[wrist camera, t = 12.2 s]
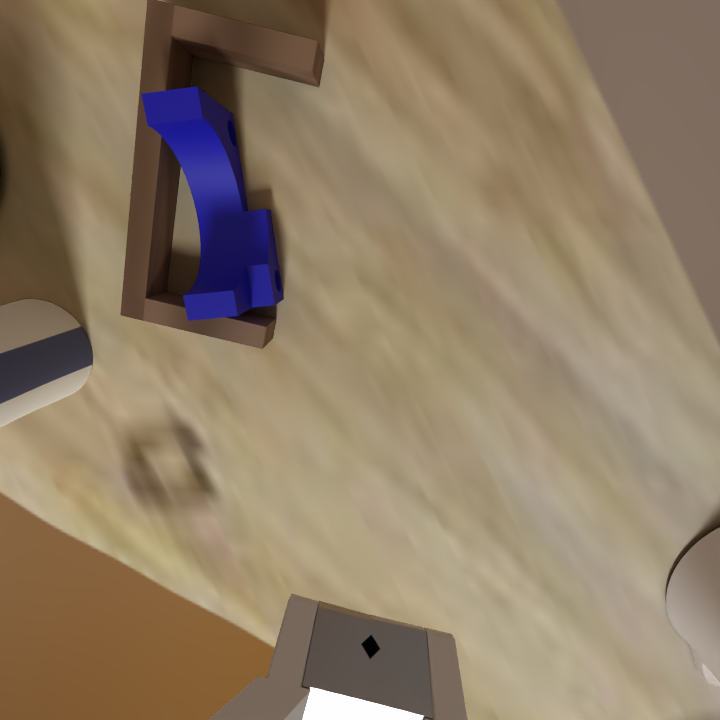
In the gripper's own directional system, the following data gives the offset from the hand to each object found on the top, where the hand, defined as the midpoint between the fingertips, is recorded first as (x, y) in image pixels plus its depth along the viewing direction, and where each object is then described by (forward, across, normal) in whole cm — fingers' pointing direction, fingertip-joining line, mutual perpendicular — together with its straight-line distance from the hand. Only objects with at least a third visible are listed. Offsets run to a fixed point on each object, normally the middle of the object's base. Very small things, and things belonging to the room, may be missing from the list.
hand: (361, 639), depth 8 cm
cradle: (+25, +12, -7) cm, 28 cm away
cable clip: (+25, +12, -6) cm, 29 cm away
